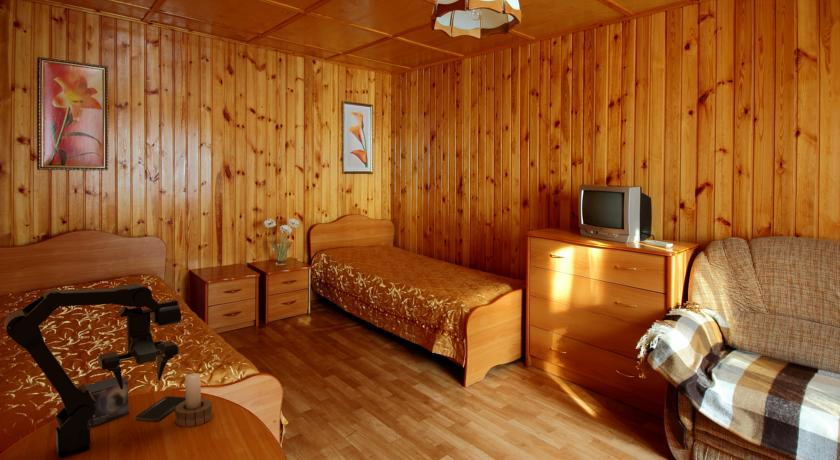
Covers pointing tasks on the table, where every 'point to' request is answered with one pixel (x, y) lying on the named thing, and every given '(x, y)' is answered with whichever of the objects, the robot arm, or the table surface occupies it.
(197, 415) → the segmented block ring
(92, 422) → the small box
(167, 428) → the table surface
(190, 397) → the tapered rounded pillar
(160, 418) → the phone
